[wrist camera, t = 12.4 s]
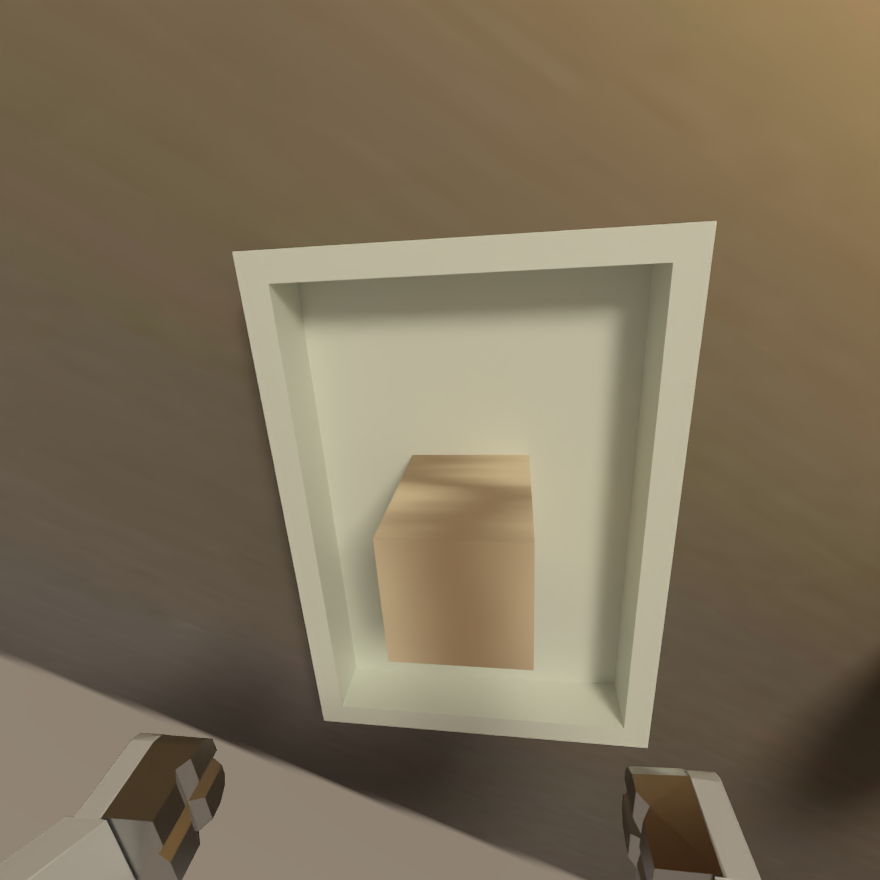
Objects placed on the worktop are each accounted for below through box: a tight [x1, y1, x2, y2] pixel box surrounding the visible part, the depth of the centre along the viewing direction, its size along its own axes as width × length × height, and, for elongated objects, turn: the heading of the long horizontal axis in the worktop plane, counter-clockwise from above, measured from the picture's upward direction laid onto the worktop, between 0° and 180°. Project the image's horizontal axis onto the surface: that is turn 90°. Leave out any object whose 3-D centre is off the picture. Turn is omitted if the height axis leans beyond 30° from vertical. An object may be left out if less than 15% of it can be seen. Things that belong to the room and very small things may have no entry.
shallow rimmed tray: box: [232, 221, 717, 748], centre depth 20 cm, size 14×20×3 cm
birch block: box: [373, 455, 535, 670], centre depth 17 cm, size 4×4×6 cm
